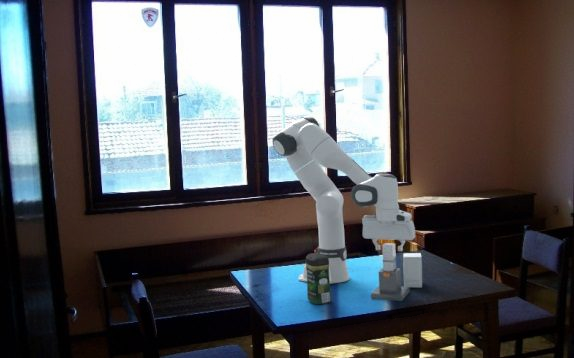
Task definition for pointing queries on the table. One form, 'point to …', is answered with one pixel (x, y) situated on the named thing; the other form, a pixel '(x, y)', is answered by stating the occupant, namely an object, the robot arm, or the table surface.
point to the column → (389, 257)
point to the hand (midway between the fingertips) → (389, 250)
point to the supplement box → (412, 269)
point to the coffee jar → (318, 278)
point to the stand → (390, 286)
